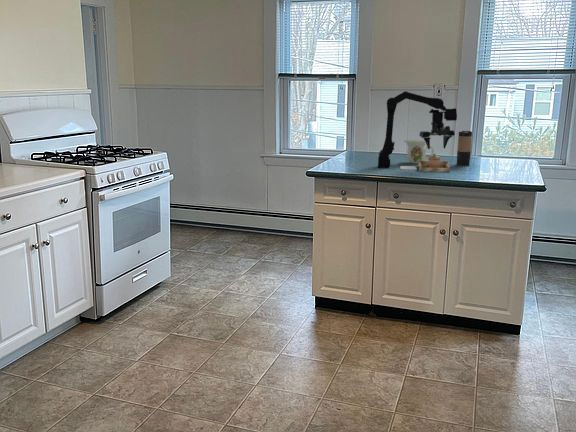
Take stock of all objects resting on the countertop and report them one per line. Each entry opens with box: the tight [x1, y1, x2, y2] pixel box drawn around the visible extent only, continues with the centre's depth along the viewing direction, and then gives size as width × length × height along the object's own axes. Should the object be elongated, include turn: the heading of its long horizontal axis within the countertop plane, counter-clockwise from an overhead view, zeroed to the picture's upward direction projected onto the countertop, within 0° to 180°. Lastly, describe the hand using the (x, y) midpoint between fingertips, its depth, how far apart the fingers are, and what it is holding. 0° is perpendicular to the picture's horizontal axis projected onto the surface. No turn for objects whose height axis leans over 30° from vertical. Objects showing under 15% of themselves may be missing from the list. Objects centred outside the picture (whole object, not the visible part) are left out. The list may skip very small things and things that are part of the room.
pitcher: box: [403, 139, 435, 165], centre depth 340 cm, size 11×18×14 cm, turn 81°
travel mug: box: [456, 130, 473, 167], centre depth 332 cm, size 8×8×20 cm
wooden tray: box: [417, 160, 451, 173], centre depth 320 cm, size 16×16×4 cm
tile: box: [399, 165, 418, 171], centre depth 323 cm, size 9×9×1 cm
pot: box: [428, 153, 442, 168], centre depth 319 cm, size 7×7×9 cm
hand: (436, 148), depth 321 cm, fingers open, 9 cm apart
